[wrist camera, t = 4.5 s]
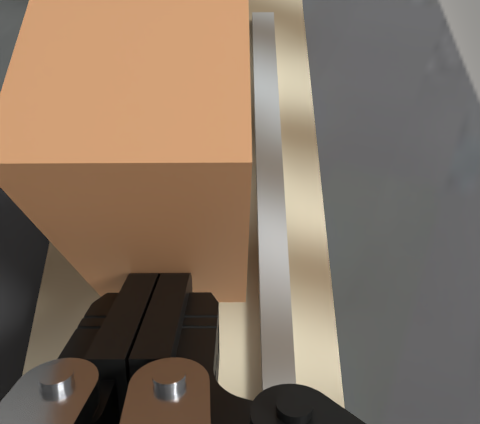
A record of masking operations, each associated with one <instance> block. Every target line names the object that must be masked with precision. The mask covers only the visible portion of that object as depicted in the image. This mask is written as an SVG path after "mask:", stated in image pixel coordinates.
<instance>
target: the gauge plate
mask: <svg viewBox="0 0 480 424" xmlns="http://www.w3.org/2000/svg"><path fill="white" fill-rule="evenodd" d="M249 42H250V85H251V128H252V179H251V201H250V222H249V244H248V265H247V287H246V302H219V350H220V358H219V374H218V383H219V385H220V386H221V387H222V388H224V389H225V390H226V391H228V392H229V393H231V394H233V395H235V396H238V397H241V398H244V399H248V400H252V401H253V400H254V399H255V397H256V396H257V395H258V394H259V393H260V392H262V391H263V390H265V389H267V388H269V387H272V386H275V385H280V384H300V385H305V386H308V387H311V388H314V389H316V390H318V391H320V392H321V393H323V394H324V395H326V396H327V397H329V398H330V399H332V400H333V401H334V402H336V403H337V404H339V405H340V406H341V407H343V408H344V398H343V389H342V379H341V370H340V360H339V350H338V341H337V331H336V322H335V312H334V302H333V293H332V283H331V274H330V264H329V255H328V245H327V235H326V226H325V216H324V207H323V197H322V188H321V178H320V168H319V159H318V149H317V140H316V130H315V121H314V111H313V101H312V92H311V82H310V73H309V63H308V53H307V44H306V34H305V25H304V15H303V6H302V0H249ZM100 297H101V296H100V295H99V294H98V293H97V292H96V291H95V290H94V289H93V288H92V286H91V285H90V284H89V283H88V282H87V281H86V280H85V279H84V278H83V277H82V276H81V275H80V273H79V272H78V271H77V270H76V269H75V268H74V267H73V266H72V265H71V264H70V263H69V261H68V260H67V259H66V258H65V257H64V256H63V255H62V254H61V253H60V252H59V251H58V250H57V248H56V247H55V246H54V245H53V244H52V243H51V242H49V247H48V252H47V257H46V262H45V267H44V272H43V277H42V281H41V286H40V291H39V296H38V301H37V306H36V311H35V316H34V320H33V325H32V330H31V335H30V340H29V345H28V350H27V355H26V360H25V364H24V369H23V374H22V376H23V375H24V374H25V373H27V372H28V371H29V370H31V369H33V368H34V367H36V366H38V365H40V364H43V363H45V362H48V361H52V360H56V359H57V358H58V357H59V355H60V354H61V352H62V350H63V349H64V347H65V346H66V344H67V342H68V341H69V339H70V338H71V336H72V334H73V333H74V331H75V329H77V328H78V325H79V323H80V321H81V320H82V318H84V315H85V313H86V312H87V310H88V309H89V307H90V305H91V304H92V303H93V302H94V301H96V300H97V299H99V298H100ZM344 409H345V408H344Z"/></svg>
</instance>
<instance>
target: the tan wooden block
mask: <svg viewBox="0 0 480 424" xmlns="http://www.w3.org/2000/svg"><path fill="white" fill-rule="evenodd" d="M251 179H252V128H251V85H250V42H249V0H29V3H28V6H27V10H26V13H25V16H24V19H23V22H22V26H21V29H20V32H19V35H18V38H17V42H16V45H15V48H14V51H13V55H12V58H11V61H10V64H9V67H8V71H7V74H6V77H5V80H4V83H3V87H2V90H1V93H0V188H1V189H2V190H3V191H4V192H5V193H6V194H7V195H8V196H9V197H10V198H11V200H12V201H13V202H14V203H15V204H16V205H17V206H18V207H19V208H20V209H21V210H22V211H23V213H24V214H25V215H26V216H27V217H28V218H29V219H30V220H31V221H32V222H33V223H34V225H35V226H36V227H37V228H38V229H39V230H40V231H41V232H42V233H43V234H44V235H45V236H46V238H47V239H48V240H49V241H50V242H51V243H52V244H53V245H54V246H55V247H56V248H57V250H58V251H59V252H60V253H61V254H62V255H63V256H64V257H65V258H66V259H67V260H68V261H69V263H70V264H71V265H72V266H73V267H74V268H75V269H76V270H77V271H78V272H79V273H80V275H81V276H82V277H83V278H84V279H85V280H86V281H87V282H88V283H89V284H90V285H91V286H92V288H93V289H94V290H95V291H96V292H97V293H98V294H99V295H100V296H101V297H102V296H103V295H104V294H106V293H119V292H120V290H121V288H122V286H123V284H124V282H125V280H126V278H127V276H128V275H129V273H160V274H161V273H191V276H192V292H211V293H212V294H213V296H214V297H215V298H216V300H217V301H218V302H246V287H247V265H248V244H249V222H250V201H251Z"/></svg>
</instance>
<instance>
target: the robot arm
mask: <svg viewBox="0 0 480 424" xmlns="http://www.w3.org/2000/svg"><path fill="white" fill-rule="evenodd" d="M219 358H220V350H219V302H218V301H217V300H216V298H215V297H214V296H213V294H212V293H211V292H192V276H191V273H161V274H160V273H129V275H128V276H127V278H126V280H125V282H124V284H123V286H122V288H121V290H120V292H119V293H106V294H104V295H103V296H102V297H100V298H99V299H97V300H96V301H94V302H93V303H92V304H91V305H90V307H89V309H88V310H87V312H86V313H85V315H84V318H82V320H81V321H80V323H79V325H78V328H77V329H75V331H74V333H73V334H72V336H71V338H70V339H69V341H68V342H67V344H66V346H65V347H64V349H63V350H62V352H61V354H60V355H59V357H58V358H57V359H56V360H52V361H48V362H45V363H43V364H40V365H38V366H36V367H34V368H33V369H31V370H29V371H28V372H27V373H25V374H24V375H23V376H22V377H21V378H20V379H19V380H18V381H17V382H16V384H15V385H14V386H13V387H12V388H11V390H10V391H9V392H8V393H7V395H6V396H5V397H4V398H3V399H0V424H365V423H364V422H363V421H361V420H360V419H358V418H357V417H356V416H354V415H353V414H351V413H350V412H348V411H347V410H346V409H344V408H343V407H341V406H340V405H339V404H337V403H336V402H334V401H333V400H332V399H330V398H329V397H327V396H326V395H324V394H323V393H321V392H320V391H318V390H316V389H314V388H311V387H308V386H305V385H300V384H280V385H275V386H272V387H269V388H267V389H265V390H263V391H262V392H260V393H259V394H258V395H257V396H256V397H255V399H254V400H253V401H252V400H248V399H244V398H241V397H238V396H235V395H233V394H231V393H229V392H228V391H226V390H225V389H224V388H222V387H221V386H220V385H219V383H218V374H219Z"/></svg>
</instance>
